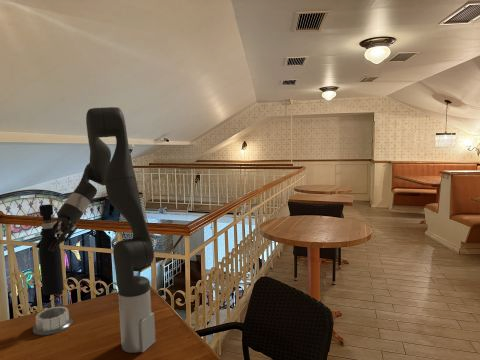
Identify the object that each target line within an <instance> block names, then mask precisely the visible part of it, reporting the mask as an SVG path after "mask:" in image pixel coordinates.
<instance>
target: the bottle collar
mask: <svg viewBox="0 0 480 360" xmlns="http://www.w3.org/2000/svg"><path fill="white" fill-rule="evenodd" d="M73 322H74V320H73V318H72V316H70V312H69V309H68V306H67V307H66V306H61V305H60V306H53V307H49V308H46V309H44V310H41V311H40V312H39V311H38V313H37V314H36V315H35V325H34V326H33V327H32V333H33V334H34V335H35V336H40V337H43V336H45V337H46V336H51V335H54V334H55V335H56V334H58V333H61V332H63V331H65V330H67V329H68V328H70V327H71V326H72V324H73Z"/></svg>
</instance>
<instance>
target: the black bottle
mask: <svg viewBox="0 0 480 360" xmlns="http://www.w3.org/2000/svg"><path fill="white" fill-rule="evenodd" d="M38 208H39V216H41V217H42V223H41V231H42V236H41V238H42V239H40V240H41V243H40V247H39V249H38V256H39V265H40V266H39V269H40V276H41V277H40V278H41V289H42V295H44V296H53V295H58V294H60V293H62V292H63V291H64V290H65V286H64V285H65V284H64V275H63V264H62V263H63V262H62V249H61V246H60V245H59V246H58V247H57V249H56V250H55V251H54V252H51V251H49V250H48V248H49V246H50V245H51V243H52V242H53V241H54V239H55V238H56V236H55V230H54V227H53V222H54V221H53V220H52V216H53V215H54V207H53V204H50V203H49V204H42V205H39V207H38ZM49 221H52V222H49ZM55 240H56V239H55Z"/></svg>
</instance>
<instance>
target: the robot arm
mask: <svg viewBox="0 0 480 360" xmlns="http://www.w3.org/2000/svg"><path fill="white" fill-rule="evenodd" d="M85 120H86V121H85V122H86V132H87V139H88V145H89V146H88V147H89V163H87V164H86V166H85V168H84V171H83V174H82V176H81V179H80V181H79V183H78V185H77V186H76V188H75V189H74V190H73V192H72V193H71V194H70V195H69V196H68V198H66V200H65V202H64V203H63V204H62V205H61V206H60V208H59V209H58V211H57V212H56V216H57V217H56V219H55V220H54V221H53V220H51V221H49V222H53V227H54V230H55V236H56V238H55V239H56V240H55V239H54V241H53V242H52V243H51V245H50V246H49V248H48V250H49V251H51V252H54V251H55V250H56V249H57V247H58V246H60V245H61V244H62V243H63V242H65V243H66V242H68V241H69V240H70V238H72V236H73V235H74V234H75V232H76V231H77V230H78V226H76V225H77V224H78V223H79V222H80V220H81V218H82V217H83V215H84V214H85V212H86V211H87V209H88V208H89V205H90V204H91V202H92V201H93V200H94V198H95V196H96V195H97V193H98V189H97V187H95V186H94V185H93V184H92V183H91V182H90V181H92V182H94V183H96V184H97V185H100V186H105V191H106V194H107V195H106V196H107V198H108V201H109V202H110V205H112V206H113V207H114V208H115V209H116V210H117V212H118V213H119V214H120V215H121V216H123V218H124V219H125V220H126V222H127V223H128V225H129V226H130V229H131V232H132V236H133V237H131V238H126V239H123V240H119V241H117V242H116V243H115V244H114V246H113V251H112V252H113V254H112V255H113V264H114V272H115V273H114V275H115V281H116V286H117V293H118V310H119V311H118V312H119V328H120V329H119V330H120V338H121V339H120V340H121V341H120V342H121V350H122V351H124V352H126V353H130V354H134V353H135V354H136V353H145V352H146V351H147V350H148V349H149V348H150V347H151V346H152V345H154V344H155V343H156V326H155V325H156V323H155V313H154V312H153V311H152V301H151V283H150V280H149V278H148V277H145V276H142V275H134V272H133V270H138V269H140V268H143V267H146V266H149V265H151V264H152V263H153V262H154V258H155V249H154V246H153V245H154V244H153V241H152V238H151V235H150V231H149V229H148V225H147V222H146V219H145V215H144V210H143V207H142V202H141V198H140V192H139V186H138V182H137V178H136V177H137V176H136V174H135V169H134V166H133V161H132V157H131V153H130V145H129V141H128V140H129V139H128V133H127V127H126V121H125V120H126V119H125V115H124V113H123V111H122V109H121V108H120V107H117V106H115V107H114V106H113V107H112V106H109V107H93V108H89V109H88V110H87V112H86V116H85ZM109 137H110V138H112V137H115V141H116V142H115V149H114V152H113V155H112V151H111V148H110V147H109V146H108V145H107V144H106V143H105V141H103V140H102V139H101V138H109ZM39 235H40V236H41V239H42V230H41V231H40V233H39ZM41 239H40V240H39V241H38V242H37V244H36V246H35V248H37V249H38V250H39V247H40V243H41Z"/></svg>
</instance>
